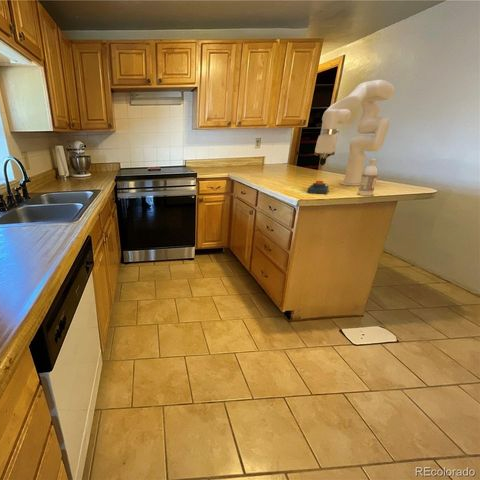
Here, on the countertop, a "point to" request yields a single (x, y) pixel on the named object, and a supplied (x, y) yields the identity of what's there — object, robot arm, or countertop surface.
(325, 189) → the dispenser
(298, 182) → the countertop surface
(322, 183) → the nozzle
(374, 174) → the bath foam
